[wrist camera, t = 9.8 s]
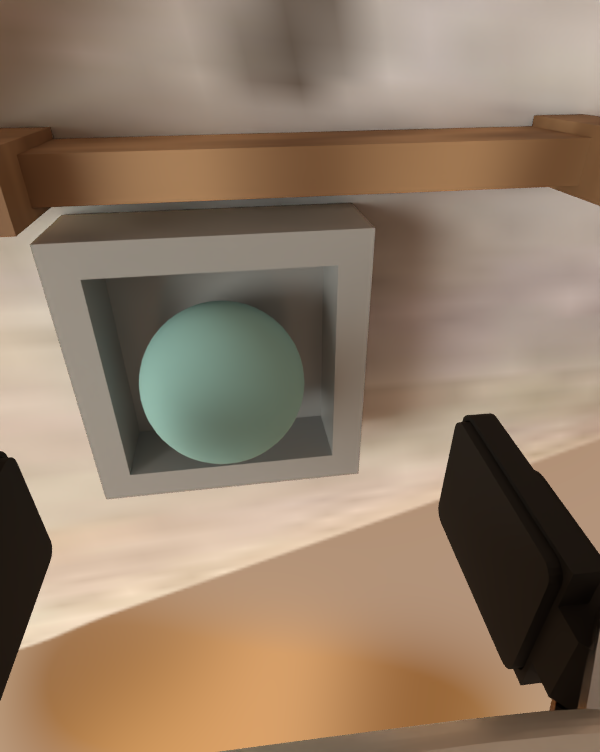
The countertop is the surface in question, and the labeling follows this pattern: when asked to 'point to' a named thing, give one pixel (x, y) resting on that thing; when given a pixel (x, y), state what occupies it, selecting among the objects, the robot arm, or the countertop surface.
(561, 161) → the rail
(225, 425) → the ball
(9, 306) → the countertop surface
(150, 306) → the dish
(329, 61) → the countertop surface
